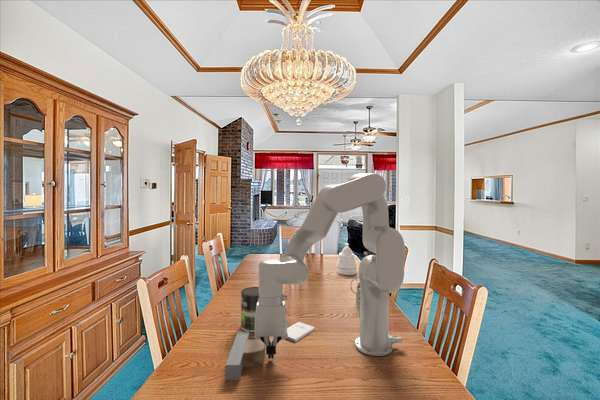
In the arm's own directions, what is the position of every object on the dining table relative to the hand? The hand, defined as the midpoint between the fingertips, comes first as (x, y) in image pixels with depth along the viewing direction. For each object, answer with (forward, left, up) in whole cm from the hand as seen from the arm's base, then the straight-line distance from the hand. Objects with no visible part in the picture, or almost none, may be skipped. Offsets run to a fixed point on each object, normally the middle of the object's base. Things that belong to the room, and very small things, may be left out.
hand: (271, 356), depth 98 cm
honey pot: (-42, -101, -2) cm, 109 cm away
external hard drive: (-8, -19, -2) cm, 21 cm away
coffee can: (+8, -24, -2) cm, 25 cm away
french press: (-40, -46, -2) cm, 61 cm away
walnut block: (+5, -1, -2) cm, 6 cm away
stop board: (+10, 0, -1) cm, 10 cm away
